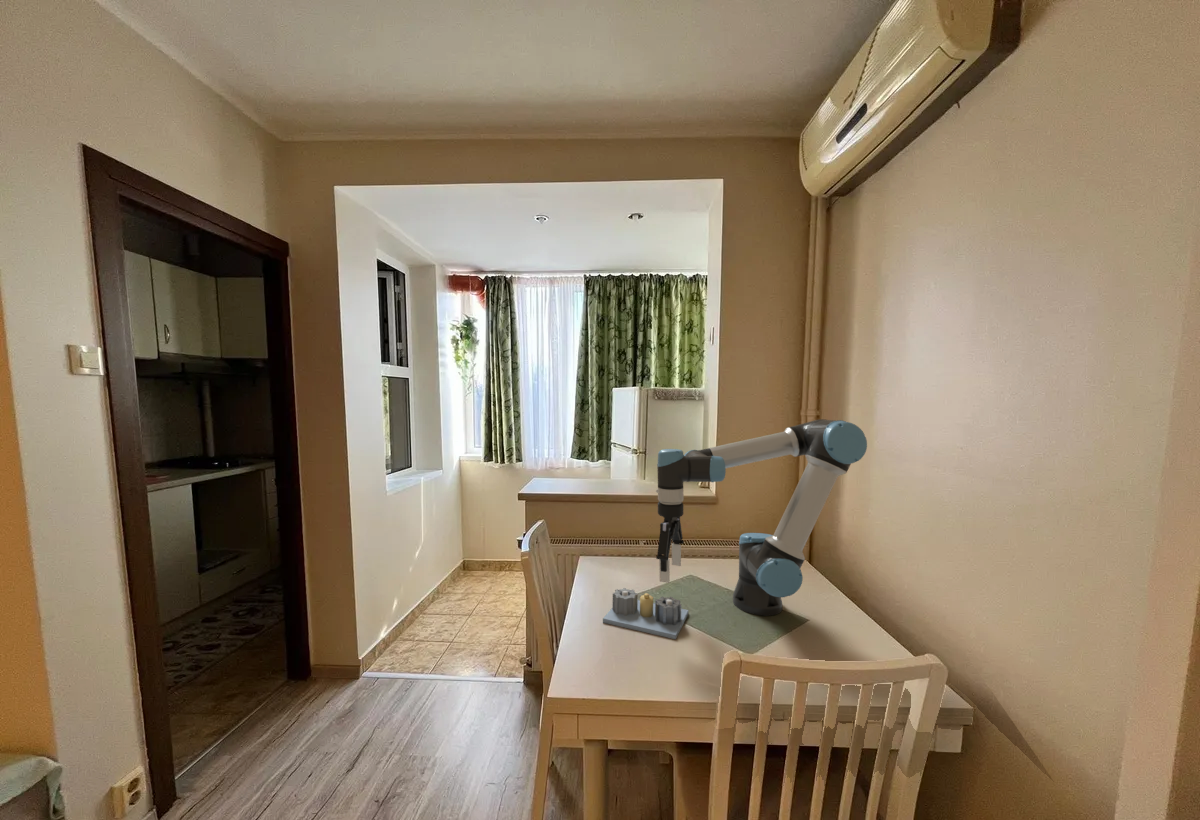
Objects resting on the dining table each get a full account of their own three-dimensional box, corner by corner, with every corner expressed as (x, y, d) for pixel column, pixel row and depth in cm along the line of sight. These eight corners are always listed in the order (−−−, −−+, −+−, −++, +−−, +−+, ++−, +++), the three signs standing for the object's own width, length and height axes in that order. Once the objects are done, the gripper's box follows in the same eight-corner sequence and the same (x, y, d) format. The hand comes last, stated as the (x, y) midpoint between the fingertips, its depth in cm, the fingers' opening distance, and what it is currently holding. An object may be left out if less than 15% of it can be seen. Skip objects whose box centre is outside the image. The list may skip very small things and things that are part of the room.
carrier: (688, 613, 135) (688, 590, 135) (675, 639, 121) (675, 613, 121) (622, 600, 144) (622, 578, 144) (602, 622, 130) (603, 598, 130)
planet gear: (654, 612, 134) (654, 596, 134) (678, 613, 133) (678, 596, 133) (656, 625, 126) (657, 607, 126) (682, 625, 126) (682, 608, 126)
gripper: (669, 492, 142) (669, 557, 142) (645, 510, 119) (645, 587, 120) (692, 494, 139) (692, 560, 139) (672, 512, 116) (672, 592, 117)
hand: (670, 573), depth 129 cm, fingers open, 13 cm apart
